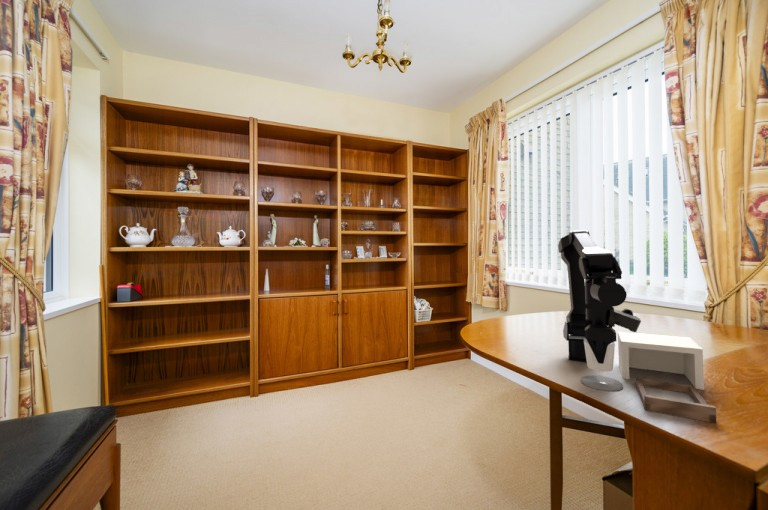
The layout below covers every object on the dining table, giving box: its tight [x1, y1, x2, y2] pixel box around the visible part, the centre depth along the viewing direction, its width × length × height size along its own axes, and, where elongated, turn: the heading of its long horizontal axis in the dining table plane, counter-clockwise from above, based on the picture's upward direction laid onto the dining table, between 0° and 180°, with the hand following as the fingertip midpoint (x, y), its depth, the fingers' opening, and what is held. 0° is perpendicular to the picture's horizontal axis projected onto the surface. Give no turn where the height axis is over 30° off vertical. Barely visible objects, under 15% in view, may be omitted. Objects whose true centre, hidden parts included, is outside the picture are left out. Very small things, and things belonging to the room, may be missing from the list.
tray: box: [635, 377, 717, 424], centre depth 73 cm, size 11×16×3 cm
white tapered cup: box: [584, 339, 616, 373], centre depth 84 cm, size 7×7×7 cm
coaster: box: [580, 374, 624, 392], centre depth 83 cm, size 9×9×1 cm
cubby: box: [617, 331, 705, 391], centre depth 87 cm, size 16×12×10 cm
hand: (600, 359), depth 83 cm, fingers closed on white tapered cup, 6 cm apart
